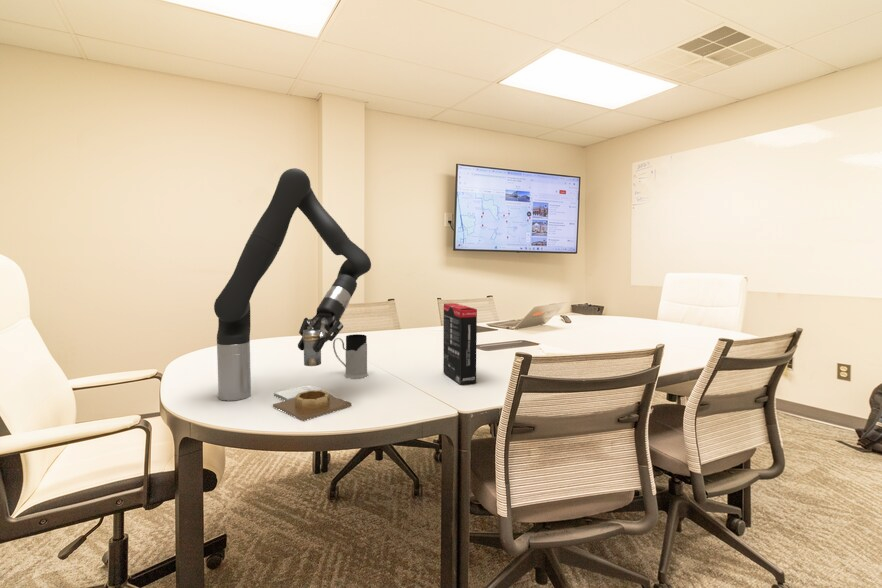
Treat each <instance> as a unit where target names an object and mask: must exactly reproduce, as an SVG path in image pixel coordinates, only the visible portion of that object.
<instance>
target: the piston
mask: <svg viewBox="0 0 882 588" xmlns="http://www.w3.org/2000/svg"><path fill="white" fill-rule="evenodd" d="M320 334H321V332H320V329H313V328H312V329H306V330H303V342H304V350H303V365H304V366H305V367H316V366H320V365H321V364H322V349H321V350H320V351H319V352H315V351H314V350H313V347H314V345H315V343H316V341H317V340H318V338H320Z"/></svg>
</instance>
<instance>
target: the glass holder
mask: <svg viewBox="0 0 882 588" xmlns="http://www.w3.org/2000/svg"><path fill="white" fill-rule="evenodd" d="M337 340H339V341H341V343H342V344H341V345H342V349H343V350H344V351H345V363H344V361H342V360H341V358H340V356H339V355H338V354H337V350H336V347H335V346H336V344H335V342H336V341H337ZM332 348H333V352H334V354H335V357H336V358H337V359H338V361H339V362H340V363H341V364H342V365H343V366H344V367H345V374H344V376H345V377H346V378H345V377H344V378H345V379H348V378H350V379H351V380H362V379H365V377H366V378H367V376H368V377H369V373H368V343H367V335H365V334H362V333H361V334H357V333H356V334H348V335H345V342H344V340H343V339H342V338H341V337H335V338H334V339H333V342H332ZM361 378H362V379H361Z"/></svg>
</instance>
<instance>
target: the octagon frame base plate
mask: <svg viewBox="0 0 882 588" xmlns="http://www.w3.org/2000/svg"><path fill="white" fill-rule="evenodd" d="M330 394H331V393H330V392H327V391H325V390H323V389H322V390H309V391H305V392H301V393H298V394H297V395H296V397H295V398H294V399H290V400H287V401H284V400H282V401H279V402H275V403H272V408H273V407H275V408H274V409H276V408H277V409H276V410H278V409H280V410H282V411H284V412H286V413H285V414H287V413H288V414H287V415H289V414H290V415H289V416H291V415H292V417H293V416H295V417H296V418H295V417H294V418H295V419H298V420H299V421H302V420H303V421H302V422H305V421H304V420H306V421H308V420H307V419H309V420H311V419H310V418H312V419H315V418H318V417H317V416H319V417H321V416H320V415H322V416H324V415H323V414H325V415H327V413H328V414H331V413H334V412H333V411H335V412H337V410H338V411H340V409H341V410H344V409H347V407H348V408H350V406H351V407H352V405H353V404H352V402H350V401H347V400H345V399H342V398H339V397H336V396H333V395H332V394H331V395H330ZM280 410H279V411H280ZM282 411H281V412H282ZM284 412H283V413H284ZM330 412H331V413H330ZM314 417H315V418H314Z"/></svg>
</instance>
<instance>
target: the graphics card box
mask: <svg viewBox="0 0 882 588" xmlns="http://www.w3.org/2000/svg"><path fill="white" fill-rule="evenodd" d="M477 311H478V310H477V308H474V307H470V306H466V305H463V304H460V303H453V302H451V303H450V302H448V303H443V341H442V343H443V363H442V365H443V374H445V375H446V376H447V377H449V378H450V379H452V380H453V381H454V382H456V383H457V384H459V385H460V386H465V385H471V384H476V383H477V341H478V340H477V336H478V334H477V333H478V332H477V331H478V329H477V327H478V326H477V325H478V323H477V322H478V320H477V318H478V312H477Z"/></svg>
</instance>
